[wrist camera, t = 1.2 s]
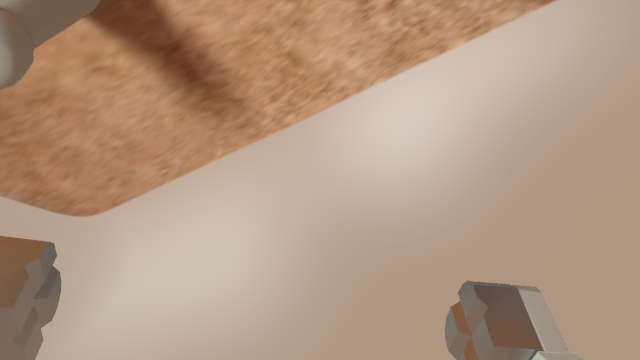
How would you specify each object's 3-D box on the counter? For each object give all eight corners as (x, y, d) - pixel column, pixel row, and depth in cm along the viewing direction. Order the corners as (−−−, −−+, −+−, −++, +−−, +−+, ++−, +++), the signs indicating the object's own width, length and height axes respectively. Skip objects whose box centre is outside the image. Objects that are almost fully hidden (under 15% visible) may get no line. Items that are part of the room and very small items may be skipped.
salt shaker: (129, -56, 35) (47, 46, 25) (102, 14, 38) (22, 126, 29) (36, -110, 33) (-90, -22, 23) (17, -31, 36) (-100, 74, 27)
